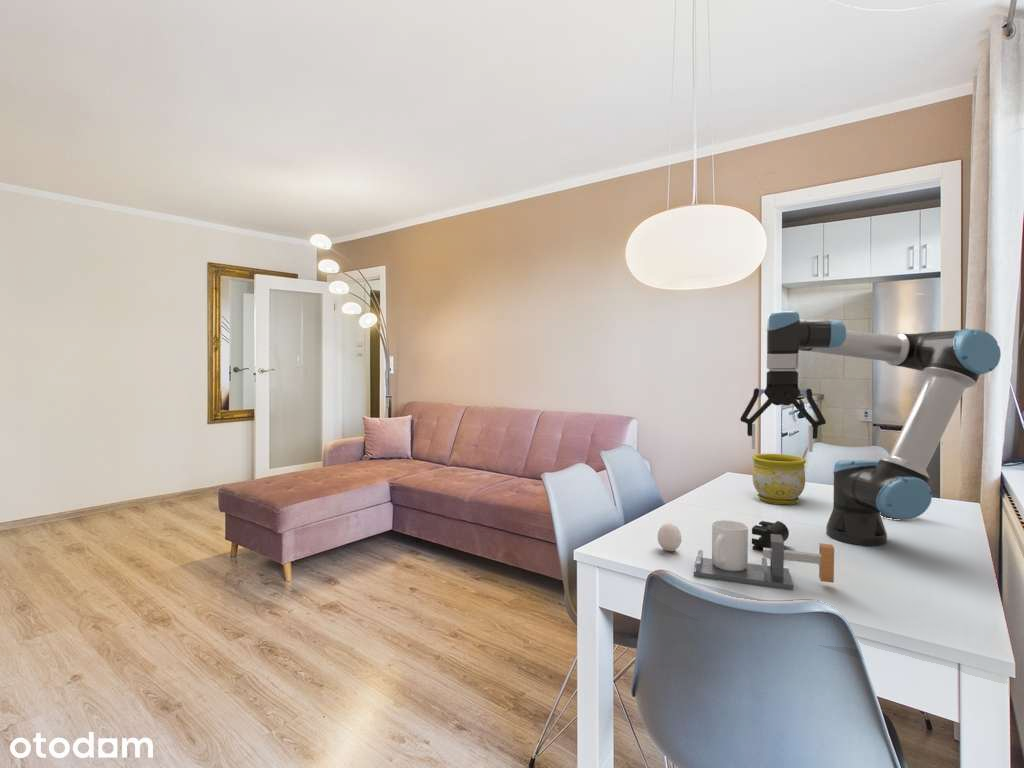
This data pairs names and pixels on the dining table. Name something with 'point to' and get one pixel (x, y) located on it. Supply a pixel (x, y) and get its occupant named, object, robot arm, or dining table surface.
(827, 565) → the lever
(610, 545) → the dining table surface
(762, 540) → the end cap
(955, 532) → the dining table surface
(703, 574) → the dock
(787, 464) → the flowerpot
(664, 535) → the egg
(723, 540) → the mug
